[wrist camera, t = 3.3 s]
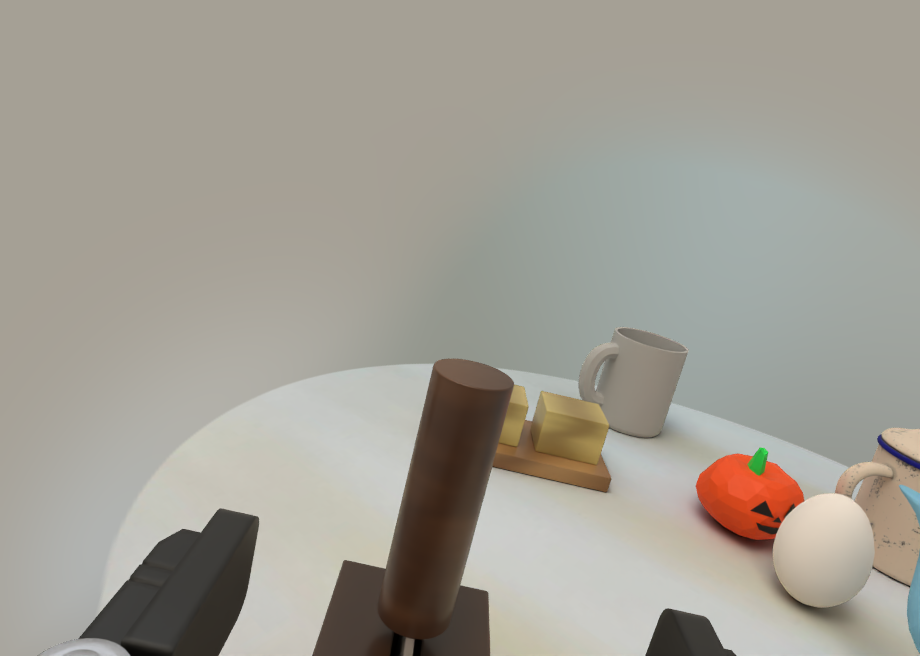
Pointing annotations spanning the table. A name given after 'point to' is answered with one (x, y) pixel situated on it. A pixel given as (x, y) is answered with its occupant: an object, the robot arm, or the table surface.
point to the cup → (633, 380)
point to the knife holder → (373, 644)
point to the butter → (555, 440)
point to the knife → (442, 498)
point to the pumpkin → (748, 494)
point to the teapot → (916, 607)
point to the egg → (824, 550)
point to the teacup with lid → (890, 500)
